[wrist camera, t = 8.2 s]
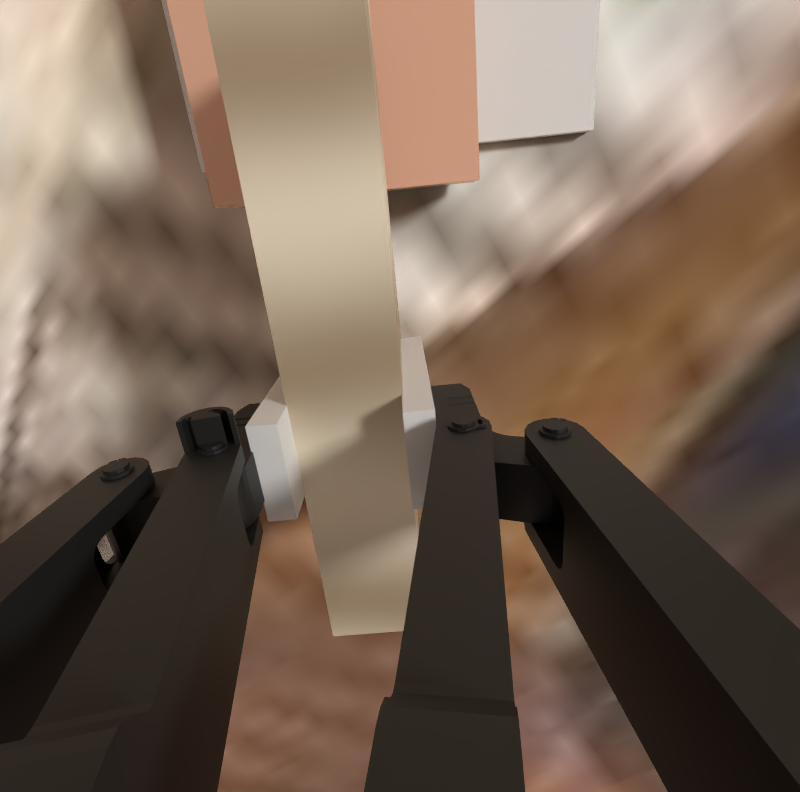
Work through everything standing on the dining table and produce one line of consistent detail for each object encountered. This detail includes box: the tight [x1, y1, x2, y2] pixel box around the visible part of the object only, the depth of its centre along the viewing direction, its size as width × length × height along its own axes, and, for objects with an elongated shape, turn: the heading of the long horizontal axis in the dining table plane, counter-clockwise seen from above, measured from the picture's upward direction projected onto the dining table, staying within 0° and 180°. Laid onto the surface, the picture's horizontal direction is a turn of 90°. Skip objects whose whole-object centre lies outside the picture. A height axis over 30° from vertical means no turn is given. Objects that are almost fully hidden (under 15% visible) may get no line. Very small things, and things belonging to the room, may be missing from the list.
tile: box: [166, 0, 480, 208], centre depth 16 cm, size 2×10×12 cm
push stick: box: [203, 0, 419, 636], centre depth 14 cm, size 18×3×6 cm, turn 5°
